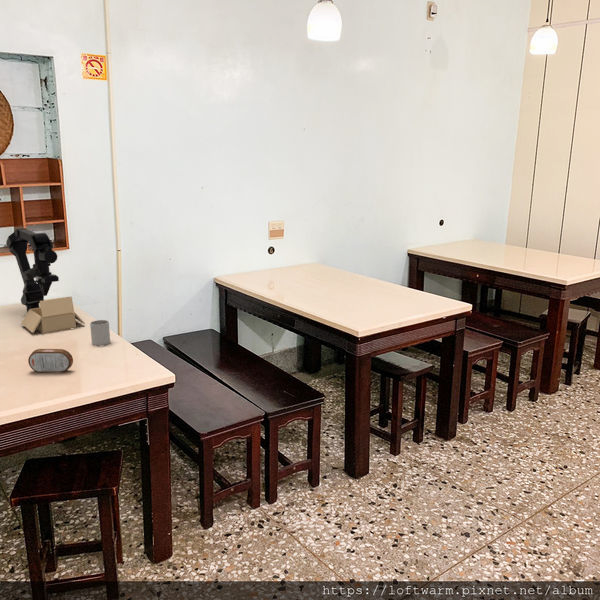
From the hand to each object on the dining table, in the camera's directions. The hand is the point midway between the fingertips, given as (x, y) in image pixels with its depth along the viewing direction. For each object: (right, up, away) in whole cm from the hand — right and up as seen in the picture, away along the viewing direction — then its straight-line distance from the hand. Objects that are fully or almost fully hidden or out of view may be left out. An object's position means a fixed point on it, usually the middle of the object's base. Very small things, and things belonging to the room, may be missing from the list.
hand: (45, 295), depth 270 cm
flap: (+10, -5, -12) cm, 16 cm away
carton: (+3, -13, -1) cm, 14 cm away
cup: (+33, -20, -24) cm, 45 cm away
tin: (+26, -28, -57) cm, 68 cm away
